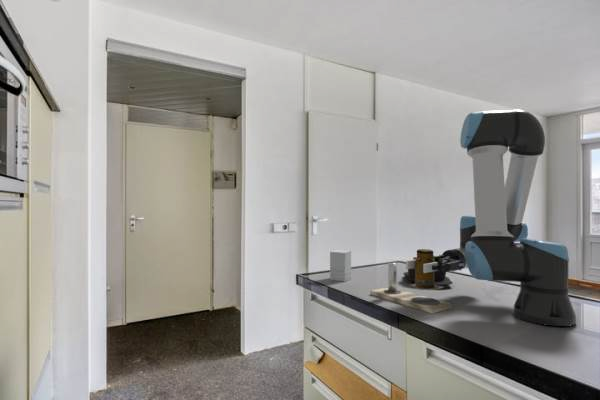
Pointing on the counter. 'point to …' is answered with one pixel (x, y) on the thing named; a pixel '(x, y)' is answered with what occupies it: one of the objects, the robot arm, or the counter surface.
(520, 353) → the counter surface
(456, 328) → the counter surface
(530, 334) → the counter surface
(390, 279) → the steel post
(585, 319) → the counter surface
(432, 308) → the board
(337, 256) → the supplement box
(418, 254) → the condiment
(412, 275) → the casserole
